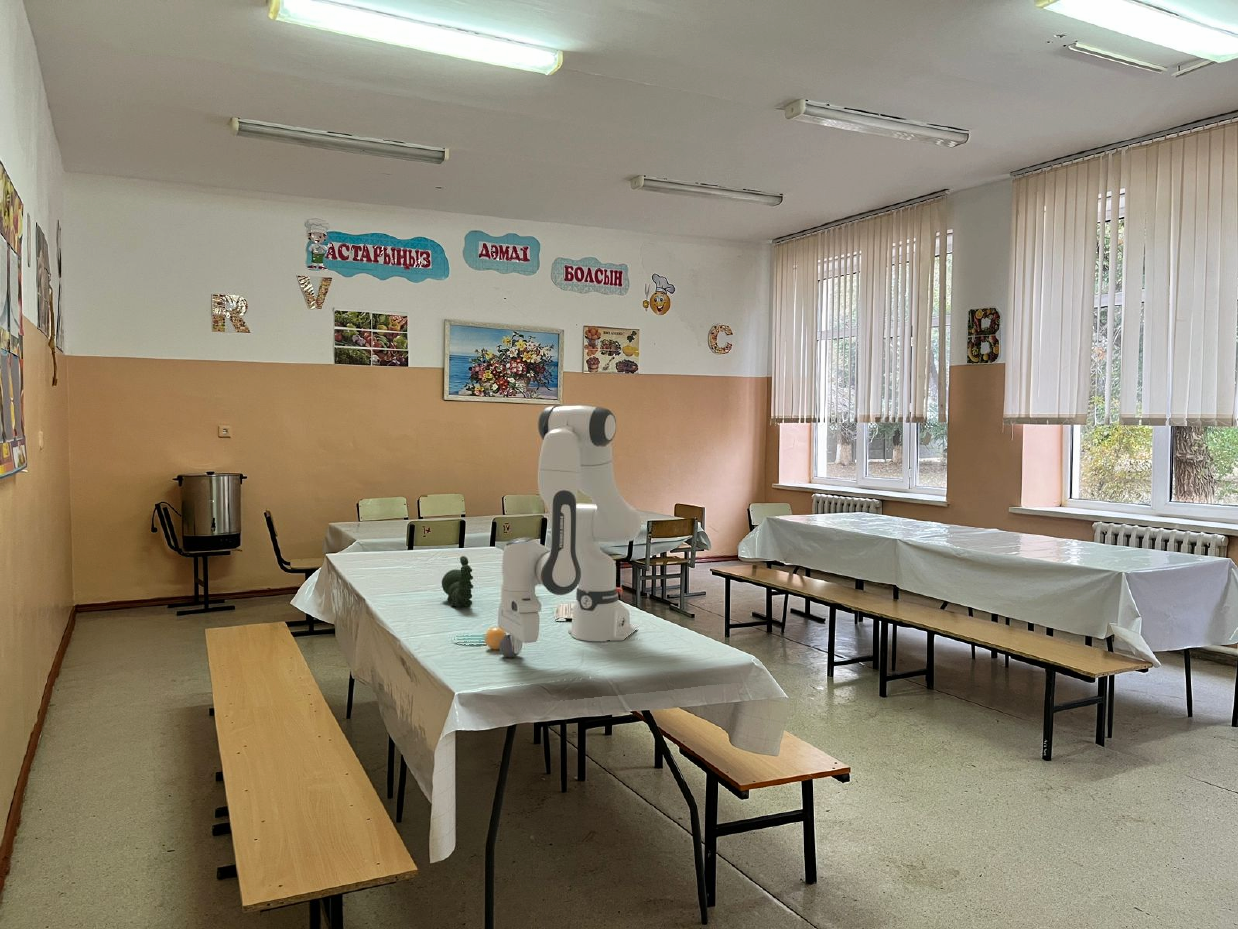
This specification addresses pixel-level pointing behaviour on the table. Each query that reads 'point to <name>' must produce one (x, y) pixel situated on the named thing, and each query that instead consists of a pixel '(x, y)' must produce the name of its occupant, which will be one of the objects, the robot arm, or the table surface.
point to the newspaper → (564, 611)
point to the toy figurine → (459, 584)
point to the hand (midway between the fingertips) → (516, 652)
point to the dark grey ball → (507, 647)
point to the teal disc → (473, 639)
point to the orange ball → (494, 637)
